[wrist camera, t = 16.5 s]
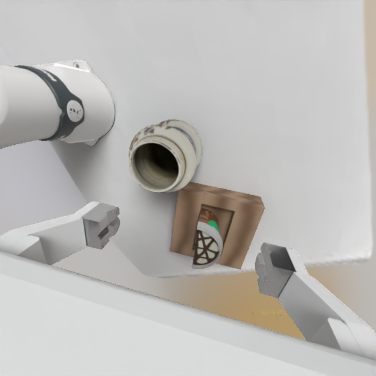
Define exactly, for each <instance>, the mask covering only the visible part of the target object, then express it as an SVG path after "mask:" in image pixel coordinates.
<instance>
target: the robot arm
mask: <svg viewBox="0 0 376 376" xmlns="http://www.w3.org/2000/svg"><path fill="white" fill-rule="evenodd" d="M78 65H79V68H78ZM114 117H115V109H114V103H113V100H112V97H111V95H110V93H109V91H108V89H107V88H106V86H105V85H104V84H103V83H102V82H101V81H100V80H99V79H98V78H97V77H96V76H95V75H94V73H93V71H92V69H91V67H90V66H89V64H88V63H87V62H86V61H85V60H72V61H64V62H56V63H48V64H40V65H33V66H20V65H19V66H14V67H13V66H8V65H3V64H0V149H2V148H5V147H8V146H12V145H16V144H20V143H25V142H29V141H34V140H41V141H48V140H49V141H53V140H58V139H59V140H60V141H65V142H67V143H77V142H82V143H84V144H86V145H89V146H92V145H95V144H96V142H97V141H98V139H99V138H100V137H101V136H103V135H105V134H106V133H107V132H108V131H109V130H110V129H111V127H112V125H113V122H114ZM118 215H119V208H118V207H115V206H111V205H108V204H104V203H100V202H96V201H91V202H90V203H89V204H87V205H86V206H84V207H83V208H81V209H80V210H78V211H77V212H75V213H74V214H72V215H66V216H62V217H58V218H54V219H50V220H46V221H42V222H38V223H34V224H30V225H26V226H23V227H19V228H15V229H12V230H10V231H8V232H6V233H5V234H3V235H1V236H0V376H376V334H375V332H374V331H373V329H372V328H371V327H369V326H368V325H367V324H366V323H365V322H364V321H363V320H361V319H360V318H359V317H358V316H357V315H356V314H355V313H354V312H352V311H351V310H350V309H349V308H348V307H347V306H346V305H344V304H343V303H342V302H341V301H340V300H339V299H338V298H336V297H335V296H334V295H333V294H332V293H331V292H329V291H328V290H327V289H326V288H325V287H324V286H323V285H322V284H320V283H319V282H318V281H317V280H316V279H314V277H311V276H309V274H308V272H307V270H306V268H305V266H304V264H303V263H302V261H301V259H300V257H299V255H298V253H297V251H296V250H295V249H292V248H287V247H281V246H277V245H273V244H268V243H263V244H262V246H261V253H259V254H258V255H257V258H256V262H255V270H256V273H257V275H258V276H259V278H258V286H259V291H260V293H263V294H266V295H269V296H273V297H276V298H278V300H279V301H280V303H281V304H282V305H283V307H284V309H285V310H286V311H287V313H288V314H289V316H290V317H291V318H292V320H293V321H294V323H295V324H296V326H297V327H298V328H299V330H300V331H301V333H302V334H303V335H304V337H305V338H306V340H307V341H306V340H303V339H299V338H296V337H293V336H289V335H286V334H282V333H279V332H275V331H272V330H269V329H265V328H262V327H258V326H255V325H252V324H248V323H245V322H241V321H238V320H235V319H231V318H228V317H224V316H221V315H217V314H214V313H211V312H208V311H204V310H201V309H197V308H194V307H190V306H187V305H184V304H180V303H177V302H174V301H170V300H167V299H163V298H160V297H157V296H153V295H150V294H146V293H143V292H140V291H136V290H133V289H129V288H126V287H123V286H119V285H116V284H112V283H109V282H106V281H102V280H99V279H95V278H92V277H89V276H85V275H81V274H78V273H75V272H71V271H68V270H65V269H61V268H58V267H55V266H51V265H52V264H54V263H56V262H58V261H60V260H62V259H64V258H66V257H68V256H70V255H72V254H74V253H76V252H77V251H79V250H81V249H83V248H85V247H87V246H89V247H93V248H97V249H102V248H103V247H104V246H105V245H106V244H107V243H108V242H109V237H112V236H114V235H115V234H116V232H117V231H118V229H119V225H120V220H119V218H118V217H117V216H118Z"/></svg>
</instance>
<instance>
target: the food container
mask: <svg viewBox="0 0 376 376" xmlns="http://www.w3.org/2000/svg"><path fill="white" fill-rule="evenodd" d="M222 249H223V242H222V238H221V236H220V235H219V223H218V219H217V217H216V216H215V215H214V214H213V213H212V212H211V211H209V210H207V209H204V208H202V210H201V214H200V218H199V221H198V225H197V238H196V245H195V253H194V259H193V264H192V268H195V269H201V268H207V267H210V266H211V265H213V264H214V263H215V262H216V261H217V260H218V259H219V257H220V255H221V252H222Z"/></svg>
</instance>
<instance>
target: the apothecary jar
mask: <svg viewBox="0 0 376 376" xmlns="http://www.w3.org/2000/svg"><path fill="white" fill-rule="evenodd" d="M201 157H202V142H201V139H200V137H199V135H198V133H197V132H196V131H195V129H194V128H193V127H191V126H190V125H189V124H187V123H185V122H183V121H180V120H167V121H164V122H161V123H160V124H158V125H152V126H149V127H146V128H144V129H142V130H141V131H140V132H139V133H138V134H137V135H136V136H135V137H134V139H133V140H132V143H131V145H130V149H129V168H130V171H131V174H132V176H133V177H134V179H135V180H136V182H137V183H138V184H139V185H141V186H142V187H143V188H145V189H147V190H149V191H153V192H162V193H170V192H174V191H177V190H180V189H181V188H183V187H184V186H186V185H187V184H188V183H189V181H190V180H191V179H192V177H193V175H194V173H195V169H196V167H197V166H198V164H199V162H200V160H201Z"/></svg>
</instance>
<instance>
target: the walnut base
mask: <svg viewBox="0 0 376 376" xmlns="http://www.w3.org/2000/svg"><path fill="white" fill-rule="evenodd" d="M202 208H204V209H207V210H209V211H211V212H212V213H213V214H214V215H215V216H216V217H217V219H218V223H219V235H220V236H221V238H222V242H223V249H222V252H221V255H220V257H219V259H218V260H217V261H216V262H215V263H218V264H222V265H225V266H229V267H233V268H237V269H241V266H242V264H243V261H244V259H245V256H246V254H247V251H248V249H249V246H250V244H251V241H252V239H253V236H254V234H255V231H256V229H257V226H258V224H259V221H260V219H261V216H262V214H263V211H264V209H265V207H264V204H263V202H262V199H261V197H259V196H254V195H249V194H245V193H240V192H235V191H231V190H226V189H221V188H217V187H212V186H207V185H202V184H198V183H193V182H189V183H188V184H187V185H186V186H184V187H183V188H181V189H180V190H178V196H177V204H176V211H175V218H174V226H173V233H172V240H171V248H170V251H172V252H176V253H179V254H183V255H187V256H191V257H194V253H195V245H196V238H197V225H198V221H199V218H200V214H201V210H202Z"/></svg>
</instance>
